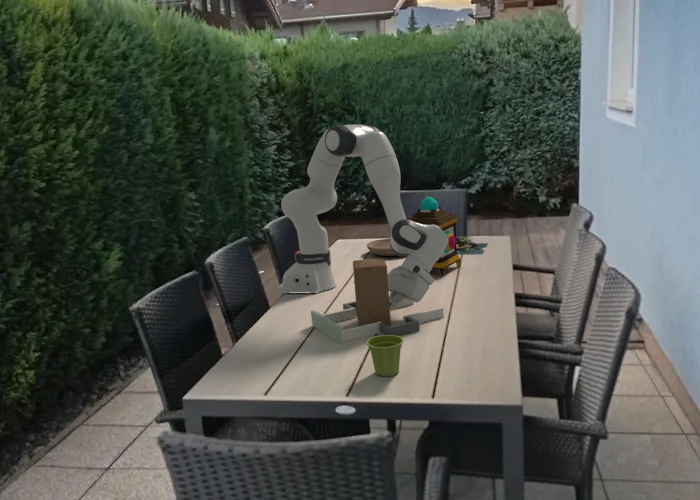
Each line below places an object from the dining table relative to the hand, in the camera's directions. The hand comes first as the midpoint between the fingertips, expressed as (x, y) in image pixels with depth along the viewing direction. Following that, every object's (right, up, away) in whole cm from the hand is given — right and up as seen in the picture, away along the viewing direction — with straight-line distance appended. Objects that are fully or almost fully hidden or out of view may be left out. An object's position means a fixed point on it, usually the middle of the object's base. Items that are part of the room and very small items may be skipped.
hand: (390, 305), depth 220 cm
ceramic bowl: (+7, +16, +92) cm, 94 cm away
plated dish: (+34, +17, +91) cm, 99 cm away
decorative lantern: (+21, +9, +57) cm, 61 cm away
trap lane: (-3, -5, -1) cm, 6 cm away
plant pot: (-3, -14, -42) cm, 44 cm away
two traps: (-3, -5, -1) cm, 6 cm away
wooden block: (-5, -6, -3) cm, 9 cm away
